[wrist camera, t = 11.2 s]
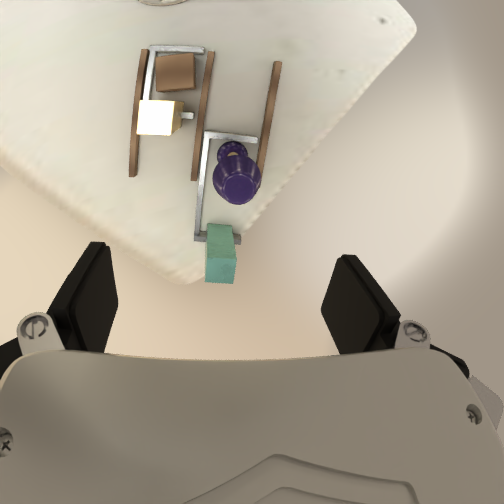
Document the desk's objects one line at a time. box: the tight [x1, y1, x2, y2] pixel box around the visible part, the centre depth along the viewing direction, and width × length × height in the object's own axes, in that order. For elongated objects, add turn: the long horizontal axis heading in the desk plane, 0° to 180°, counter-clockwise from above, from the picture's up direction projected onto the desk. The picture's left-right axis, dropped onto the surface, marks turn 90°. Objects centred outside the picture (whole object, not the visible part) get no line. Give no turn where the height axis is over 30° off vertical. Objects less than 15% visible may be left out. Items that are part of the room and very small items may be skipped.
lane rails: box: [129, 49, 282, 188], centre depth 34 cm, size 18×18×2 cm
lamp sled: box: [194, 130, 258, 284], centre depth 36 cm, size 17×7×10 cm, turn 171°
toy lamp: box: [213, 141, 261, 205], centre depth 31 cm, size 5×5×17 cm
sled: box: [137, 45, 204, 135], centre depth 28 cm, size 11×7×10 cm, turn 171°
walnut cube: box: [155, 53, 196, 92], centre depth 30 cm, size 4×4×4 cm
